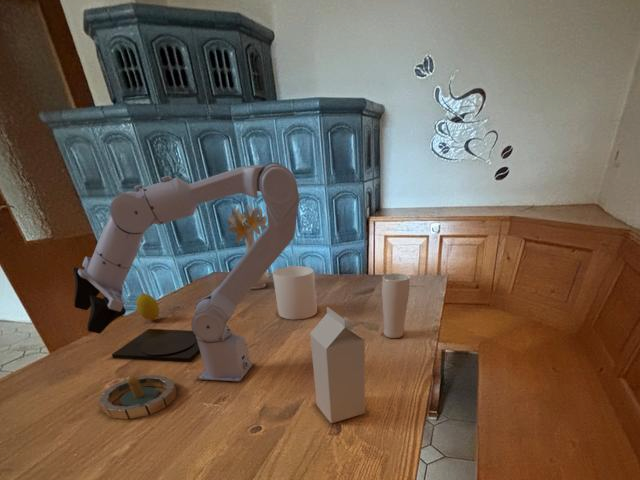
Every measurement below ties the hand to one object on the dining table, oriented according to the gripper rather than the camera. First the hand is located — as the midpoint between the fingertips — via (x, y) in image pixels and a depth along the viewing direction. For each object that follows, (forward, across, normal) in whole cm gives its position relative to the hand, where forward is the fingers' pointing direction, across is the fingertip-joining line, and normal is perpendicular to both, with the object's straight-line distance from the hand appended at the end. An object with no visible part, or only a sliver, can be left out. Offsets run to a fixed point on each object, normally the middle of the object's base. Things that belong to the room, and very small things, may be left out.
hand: (87, 319), depth 74 cm
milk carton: (-17, +42, +26) cm, 52 cm away
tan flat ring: (+7, +14, +8) cm, 18 cm away
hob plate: (+6, -7, +23) cm, 25 cm away
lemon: (+11, -27, +29) cm, 41 cm away
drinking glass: (-30, +24, +56) cm, 68 cm away
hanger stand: (+7, +14, +8) cm, 18 cm away
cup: (-16, -6, +54) cm, 57 cm away
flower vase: (-9, -36, +63) cm, 73 cm away
